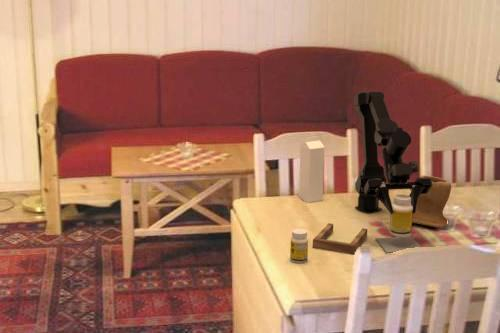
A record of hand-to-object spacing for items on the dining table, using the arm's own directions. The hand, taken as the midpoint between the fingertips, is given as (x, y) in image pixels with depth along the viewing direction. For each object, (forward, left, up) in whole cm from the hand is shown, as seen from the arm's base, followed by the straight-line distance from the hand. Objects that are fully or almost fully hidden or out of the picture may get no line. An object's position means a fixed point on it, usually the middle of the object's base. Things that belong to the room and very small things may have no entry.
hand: (403, 213), depth 210 cm
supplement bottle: (+30, -9, -11) cm, 33 cm away
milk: (-7, -49, -11) cm, 51 cm away
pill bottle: (-1, -1, -7) cm, 7 cm away
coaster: (-1, -1, -10) cm, 11 cm away
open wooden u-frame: (+12, -13, -10) cm, 20 cm away
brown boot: (-22, -11, -11) cm, 27 cm away
